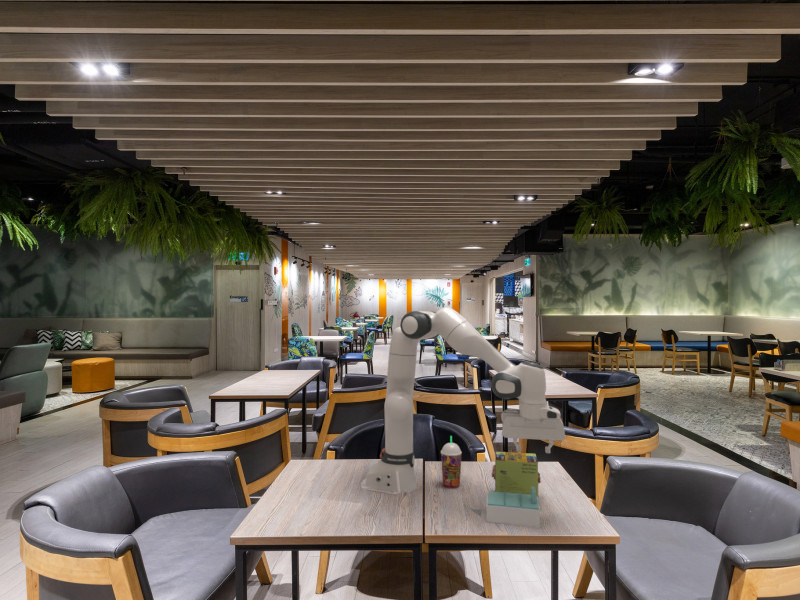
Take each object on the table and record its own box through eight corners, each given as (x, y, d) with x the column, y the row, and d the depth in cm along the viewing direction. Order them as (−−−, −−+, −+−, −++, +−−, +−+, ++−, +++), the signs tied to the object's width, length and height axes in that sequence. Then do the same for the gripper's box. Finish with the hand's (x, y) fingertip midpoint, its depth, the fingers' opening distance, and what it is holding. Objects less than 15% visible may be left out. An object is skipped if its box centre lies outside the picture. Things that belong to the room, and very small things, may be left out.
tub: (486, 523, 151) (486, 505, 151) (487, 509, 162) (487, 492, 162) (540, 529, 147) (539, 510, 148) (537, 513, 158) (537, 496, 158)
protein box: (538, 505, 165) (538, 462, 165) (495, 502, 168) (495, 459, 168) (536, 494, 175) (535, 453, 175) (495, 491, 178) (494, 451, 178)
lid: (487, 508, 152) (487, 491, 152) (488, 495, 162) (488, 479, 162) (538, 513, 148) (538, 495, 148) (536, 499, 158) (536, 483, 158)
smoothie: (448, 491, 177) (448, 440, 178) (437, 484, 185) (436, 434, 185) (466, 487, 181) (465, 437, 181) (454, 480, 189) (453, 432, 189)
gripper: (500, 411, 153) (501, 452, 153) (565, 414, 148) (565, 456, 148) (501, 407, 159) (501, 447, 159) (563, 409, 154) (563, 450, 154)
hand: (533, 451), depth 153 cm, fingers open, 8 cm apart
